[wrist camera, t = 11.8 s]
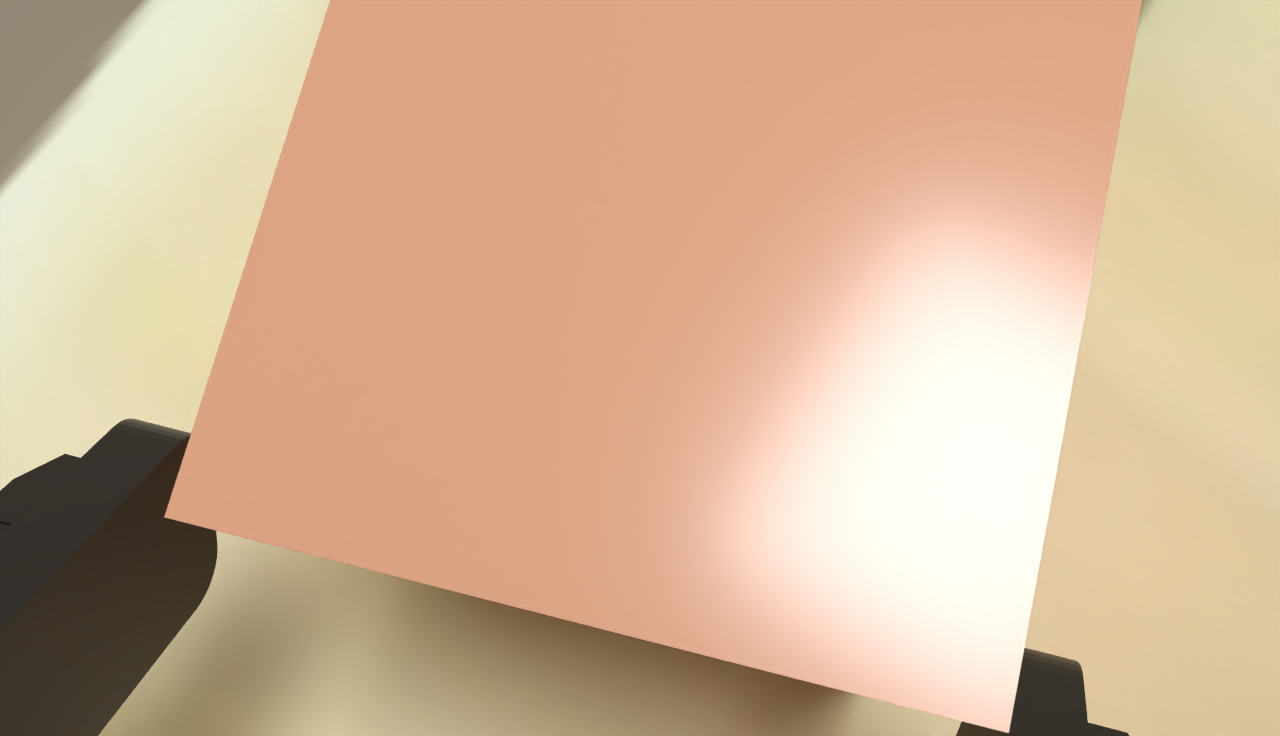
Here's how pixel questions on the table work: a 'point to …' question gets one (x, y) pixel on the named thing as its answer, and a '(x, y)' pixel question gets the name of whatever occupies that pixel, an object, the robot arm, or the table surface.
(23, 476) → the robot arm
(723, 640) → the terracotta clay block
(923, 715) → the table surface
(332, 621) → the table surface
